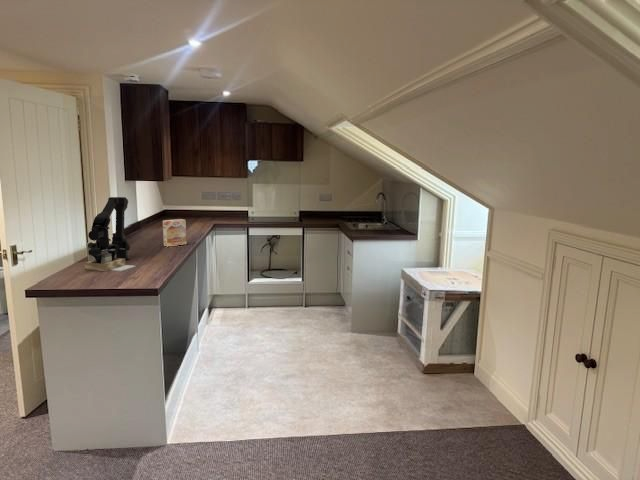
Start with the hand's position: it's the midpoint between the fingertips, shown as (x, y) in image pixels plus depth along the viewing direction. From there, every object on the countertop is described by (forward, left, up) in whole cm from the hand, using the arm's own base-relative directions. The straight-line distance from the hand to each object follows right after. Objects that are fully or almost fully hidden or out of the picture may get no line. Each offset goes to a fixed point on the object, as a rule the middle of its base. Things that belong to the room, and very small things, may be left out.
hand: (105, 263), depth 252 cm
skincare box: (-10, -17, -2) cm, 20 cm away
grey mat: (0, +13, -2) cm, 13 cm away
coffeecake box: (-70, 0, -2) cm, 70 cm away
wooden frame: (0, 0, -2) cm, 2 cm away
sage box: (0, 0, -2) cm, 2 cm away
